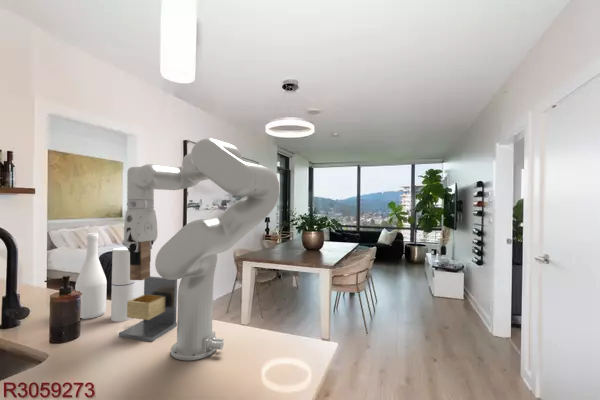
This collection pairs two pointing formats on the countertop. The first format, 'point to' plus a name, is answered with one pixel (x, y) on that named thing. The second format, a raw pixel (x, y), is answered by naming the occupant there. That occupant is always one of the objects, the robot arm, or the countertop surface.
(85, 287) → the wine bottle
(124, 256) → the cylindrical container
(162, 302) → the cup bracket
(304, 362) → the countertop surface
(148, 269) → the rail post
